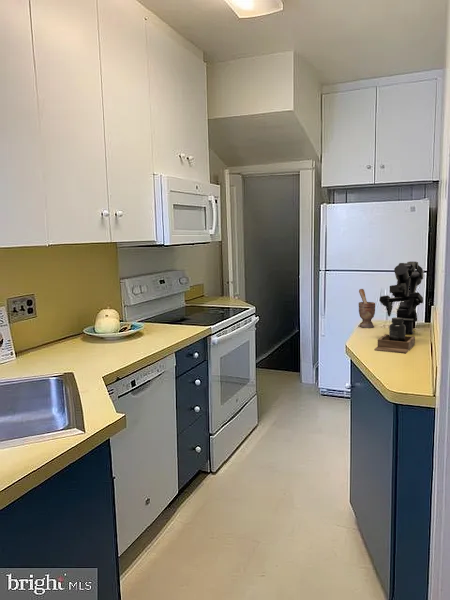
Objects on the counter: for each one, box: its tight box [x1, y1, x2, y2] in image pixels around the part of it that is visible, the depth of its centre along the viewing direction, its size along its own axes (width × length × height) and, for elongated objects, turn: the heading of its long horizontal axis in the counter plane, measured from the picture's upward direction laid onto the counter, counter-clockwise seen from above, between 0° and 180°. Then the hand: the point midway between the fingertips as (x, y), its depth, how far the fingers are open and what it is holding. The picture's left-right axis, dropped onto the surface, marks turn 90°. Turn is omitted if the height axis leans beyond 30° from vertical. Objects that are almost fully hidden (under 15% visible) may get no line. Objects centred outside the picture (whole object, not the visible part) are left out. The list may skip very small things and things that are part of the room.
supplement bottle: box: [388, 317, 406, 342], centre depth 213 cm, size 7×7×12 cm
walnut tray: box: [374, 333, 416, 354], centre depth 211 cm, size 18×13×4 cm
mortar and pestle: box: [358, 288, 376, 329], centre depth 258 cm, size 12×9×20 cm
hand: (398, 315), depth 220 cm, fingers open, 9 cm apart
